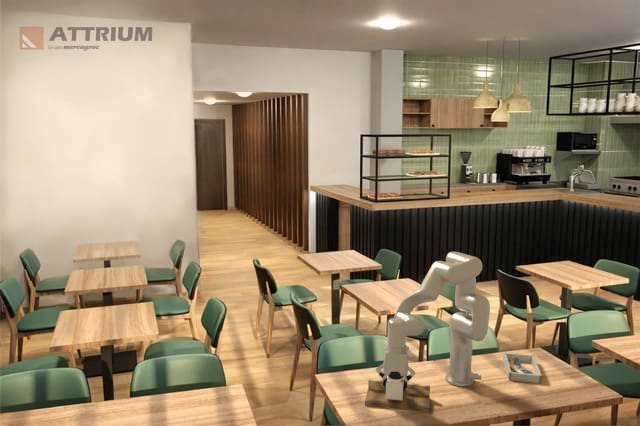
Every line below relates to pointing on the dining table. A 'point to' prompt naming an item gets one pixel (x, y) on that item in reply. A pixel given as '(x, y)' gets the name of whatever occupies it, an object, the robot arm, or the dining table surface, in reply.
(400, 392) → the medicine bottle
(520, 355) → the grey tray
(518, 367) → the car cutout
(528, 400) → the dining table surface
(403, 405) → the board
